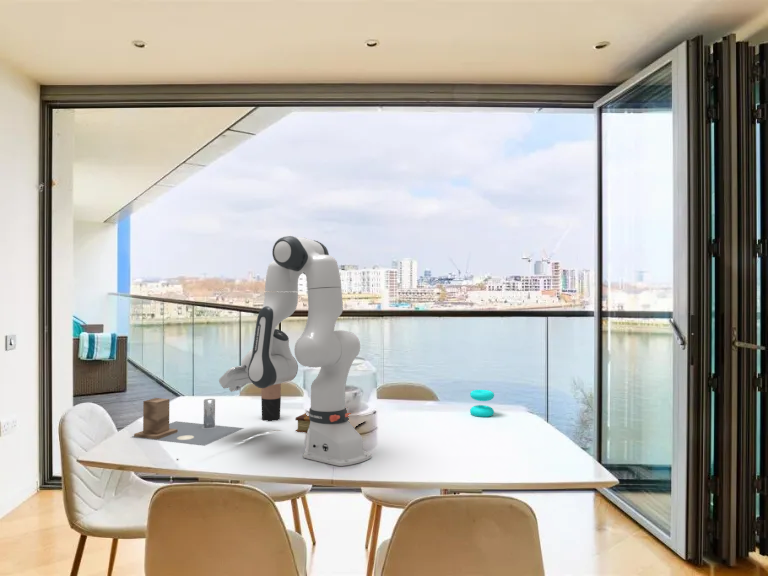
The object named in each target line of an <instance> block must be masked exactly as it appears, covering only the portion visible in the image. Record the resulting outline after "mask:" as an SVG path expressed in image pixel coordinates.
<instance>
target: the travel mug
mask: <svg viewBox="0 0 768 576" xmlns="http://www.w3.org/2000/svg"><path fill="white" fill-rule="evenodd" d="M281 392H282V383H280V384H275V385H272V386H269V387H266V388H261V395H260V396H261V420H262V419H263V420H262V421H264V420H268V421H267V422H273V421H272V420H276V421H279V420H280V418H281V402H282V401H281V400H282V393H281ZM278 419H279V420H278Z"/></svg>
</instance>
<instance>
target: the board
mask: <svg viewBox="0 0 768 576" xmlns="http://www.w3.org/2000/svg"><path fill="white" fill-rule="evenodd" d="M169 428H170V429H178V432H177V433H174V434H171V435H169V436H166V437H163V438H161V439H150V438H141V437H134V435H133V436H131V439H132V438H133V439H141V440H150V441H158V442H160V441H162V442H169V443H175V444H176V443H177V444H185V445H186V444H187V445H194V446H202V447H203V446H204V447H205V446H208V445H210V444H212V443H214V442H216V441H219V440H221V439H224V438H225V437H228V436H230V435H232V434H235V433H236V432H239V431H241V430H244V429H245V427H235V426H226V425H217V424H215V427H214V428H204V423H196V422H187V421H178V420H177V421H174V422H173V421H172V422H169Z"/></svg>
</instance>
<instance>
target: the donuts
mask: <svg viewBox="0 0 768 576" xmlns="http://www.w3.org/2000/svg"><path fill="white" fill-rule="evenodd" d="M469 396H470V398H471V399H473V400H474V401H479V402H488V401H492V400H493V399H494V397H495V393H494V392H493V391H491V390H489V389H488V390H487V389H473V390H471V391H470V395H469ZM469 412H470V414H471V416H474V417H478V418H479V417H480V418H488V417H491V416H493V415H494V414H495V411H494V408H493V407H491V406H489V405H483V404H477V405H473V406H472V407H470V410H469Z"/></svg>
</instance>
